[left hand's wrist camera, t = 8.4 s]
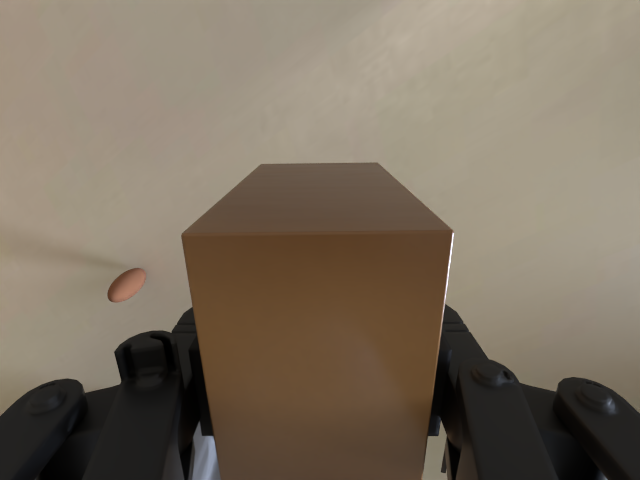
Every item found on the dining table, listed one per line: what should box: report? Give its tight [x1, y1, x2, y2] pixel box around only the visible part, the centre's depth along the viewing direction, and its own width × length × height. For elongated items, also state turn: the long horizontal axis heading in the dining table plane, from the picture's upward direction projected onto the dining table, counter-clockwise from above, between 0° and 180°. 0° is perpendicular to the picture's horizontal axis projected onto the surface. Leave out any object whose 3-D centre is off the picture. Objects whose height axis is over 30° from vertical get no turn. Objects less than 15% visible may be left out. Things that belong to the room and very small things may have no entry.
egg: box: [108, 268, 146, 302], centre depth 30 cm, size 2×2×5 cm
